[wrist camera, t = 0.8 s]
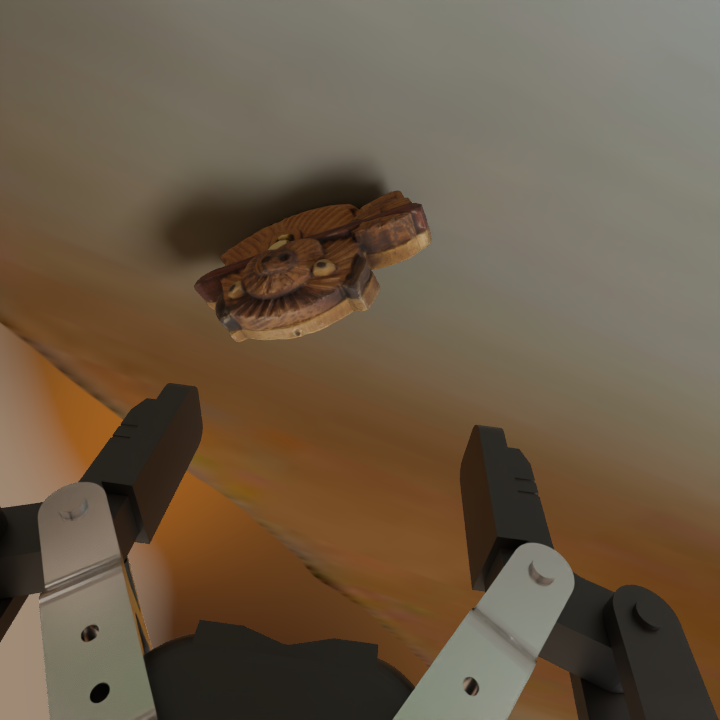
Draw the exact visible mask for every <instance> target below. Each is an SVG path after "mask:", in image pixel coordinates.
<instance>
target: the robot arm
mask: <svg viewBox="0 0 720 720" xmlns="http://www.w3.org/2000/svg"><path fill="white" fill-rule="evenodd" d="M202 430H203V424H202V417H201V409H200V402H199V395H198V390H197V388H196V387H195V386H188V385H181V384H173V383H168V384H167V385H166V386H165V387H164V389H163V390H162V392H161V393H160V395H159V396H158V398H157V399H149V398H147V399H145V400H144V401H143V402H141V403H140V404H138V405H137V406H135V407H134V408H133V409H131V410H130V412H129V413H128V414H127V416H126V417H125V419H124V420H123V421H122V423H121V426H119V427H118V428H117V430H116V431H115V432H114V434H113V437H112V438H110V439H109V441H108V442H107V444H106V445H105V446H104V448H103V449H102V450H101V452H100V453H99V455H98V456H97V457H96V459H95V460H94V461H93V463H92V464H91V466H90V467H89V468H88V470H87V471H86V473H85V474H84V475H83V477H82V478H81V479H80V481H79V482H78V483H73V484H69V485H67V486H64V487H62V488H60V489H58V490H57V491H55V492H54V493H52V494H51V495H50V496H49V497H48V498H47V499H46V500H45V501H44V502H41V503H35V504H28V505H21V506H14V507H6V508H1V507H0V642H1V640H2V638H3V637H4V635H5V633H6V631H7V630H8V628H9V627H10V625H11V624H12V622H13V620H14V619H15V617H16V615H17V614H18V612H19V610H20V608H21V607H22V605H23V603H24V602H25V600H26V599H27V597H28V595H29V594H34V593H40V592H41V593H40V596H39V608H40V619H41V630H42V640H43V651H44V660H45V661H44V662H45V672H46V683H47V694H48V704H49V715H50V720H507V718H508V716H509V714H510V712H511V711H512V709H513V707H514V705H515V703H516V701H517V699H518V697H519V696H520V694H521V692H522V690H523V688H524V686H525V684H526V682H527V681H528V679H529V677H530V675H531V673H532V671H533V669H534V667H535V665H536V659H537V657H538V656H539V657H541V658H543V659H545V660H547V661H549V662H551V663H553V664H555V665H557V666H559V667H561V668H563V669H565V670H567V671H569V673H570V678H571V683H572V688H573V693H574V699H575V704H576V709H577V714H578V719H579V720H718V717H717V715H716V712H715V710H714V707H713V705H712V702H711V700H710V697H709V695H708V692H707V690H706V687H705V685H704V682H703V680H702V677H701V675H700V672H699V670H698V667H697V664H696V662H695V659H694V657H693V654H692V652H691V649H690V647H689V644H688V642H687V639H686V637H685V634H684V632H683V629H682V627H681V624H680V622H679V620H678V618H677V616H676V614H675V613H674V611H673V610H672V609H671V607H670V606H669V605H668V604H667V603H666V602H665V601H664V600H663V599H662V598H660V597H659V596H658V595H656V594H655V593H653V592H652V591H650V590H648V589H646V588H643V587H640V586H637V585H625V586H622V587H620V588H618V590H617V591H616V592H612V591H610V590H608V589H606V588H603V587H601V586H599V585H596V584H594V583H592V582H590V581H587V580H585V579H583V578H581V577H580V576H578V575H576V574H575V573H574V572H572V570H571V568H570V566H569V564H568V563H567V562H566V560H565V559H564V558H563V557H562V556H561V555H560V554H559V553H558V552H556V551H555V550H554V547H553V545H552V541H551V537H550V534H549V530H548V526H547V523H546V519H545V516H544V512H543V508H542V505H541V501H540V497H538V490H537V487H536V483H534V481H535V479H534V476H533V472H532V468H531V465H530V463H529V462H528V460H527V459H526V458H525V456H524V455H523V454H522V452H521V451H520V450H519V449H515V448H508V447H507V443H506V439H505V435H504V431H503V429H502V428H496V427H489V426H481V425H475V426H474V427H473V430H472V433H471V436H470V439H469V442H468V445H467V448H466V450H465V453H464V456H463V459H462V463H461V469H460V485H461V494H462V503H463V512H464V521H465V530H466V539H467V548H468V557H469V566H470V575H471V584H472V590H478V591H485V594H484V596H483V597H482V599H481V600H480V602H479V603H478V604H477V606H476V607H475V608H473V609H472V610H471V611H470V612H469V613H468V615H467V616H466V617H465V619H464V620H463V621H462V623H461V624H460V626H459V627H458V628H457V630H456V631H455V633H454V634H453V635H452V637H451V638H450V640H449V641H448V642H447V644H446V645H445V647H444V648H443V649H442V651H441V652H440V654H439V655H438V657H437V658H436V659H435V661H434V662H433V664H432V665H431V666H430V668H429V669H428V671H427V672H426V673H425V675H424V676H423V678H422V679H421V680H420V682H419V683H418V685H417V686H416V687H414V685H413V684H412V683H411V682H410V681H409V680H408V679H407V678H406V677H405V676H404V675H403V674H402V673H401V672H400V671H398V670H397V669H396V668H395V667H393V666H391V665H390V664H388V663H387V662H385V661H383V660H380V659H378V658H377V653H378V645H377V644H370V643H363V642H356V641H348V640H341V639H327V640H320V641H313V642H307V643H299V644H293V645H285V644H282V643H280V642H278V641H275V640H273V639H271V638H269V637H266V636H264V635H262V634H260V633H258V632H256V631H254V630H251V629H249V628H247V627H245V626H241V625H233V624H226V623H218V622H211V621H205V620H200V621H199V624H198V627H197V630H196V633H195V634H188V635H185V636H181V637H178V638H175V639H173V640H170V641H168V642H165V643H163V644H162V645H160V646H158V647H156V648H154V649H152V645H151V642H150V638H149V635H148V632H147V629H146V625H145V622H144V618H143V614H142V610H141V606H140V602H139V599H138V594H137V590H136V586H135V583H134V579H133V575H132V571H131V567H130V563H129V559H128V556H127V555H128V553H129V551H130V549H131V548H132V546H133V544H134V542H139V543H146V544H150V542H151V540H152V538H153V536H154V534H155V532H156V530H157V528H158V526H159V524H160V522H161V520H162V518H163V516H164V514H165V512H166V510H167V508H168V506H169V503H170V502H171V500H172V498H173V496H174V494H175V492H176V490H177V488H178V486H179V484H180V482H181V480H182V478H183V476H184V474H185V472H186V470H187V468H188V466H189V464H190V462H191V460H192V458H193V456H194V454H195V452H196V450H197V448H198V446H199V444H200V441H201V437H202Z"/></svg>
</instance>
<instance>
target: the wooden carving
mask: <svg viewBox="0 0 720 720" xmlns="http://www.w3.org/2000/svg"><path fill="white" fill-rule="evenodd" d="M431 239H432V238H431V233H430V229H429V226H428V223H427V220H426V216H425V213H424V210H423V207H422V205H421V204H417V203H412V202H411V201H410V200H409V198H404V196H403V195H402V193H401V192H400V191H394V192H390V193H388V194H385V195H382V196H381V197H379V198H378V199H376V200H374V201H372V202H370V203H368V204H366V205H364V206H363V207H361V209H360V210H359V209H358V208H356V207H355V206H353V205H350V204H345V205H344V204H339V205H330V206H325V207H321V208H316V209H312V210H308V211H305V212H302V213H300V214H298V215H293V216H291V217H290V218H285V219H284V220H282V221H280V222H278V223H274V224H273V225H271V226H267V227H265V228H263V229H261V230H260V231H258V232H256V233H254V234H253V235H252V236H249V237H248V238H246V239H244V240H243V241H241V242H240V243H238V244H237V245H235V246H234V247H232V248H230V249H229V250H228V251H226V252H225V253H224V254H223V255H222V257H221V260H222V261H223V262H224V264H225V267H222V268H218V269H215V270H213V271H211V272H209V273H207V274H206V275H204V276H202V277H201V278H200V279H199V280H198V281H197V282H196V284H195V286H194V287H195V290H196V291H197V292H198V293H199V294H200V295H201V296H202V297H203V299H204V300H205V301H206V304H207V305H208V306H209V307H211V308H212V309H214V310H216V315H217V317H218V319H219V321H220V322H221V323H222V324H223V325H224V326H225V327H226V328H227V329H228V330H229V332H230V335H231V337H232V338H233V339H234V340H235V341H236V342H240V341H243V340H245V339H247V338H253V339H259V340H274V339H291V338H296V337H301V336H303V335H305V334H308V333H313V332H316V331H319V330H321V329H323V328H325V327H327V326H329V325H331V324H333V323H335V322H337V321H339V320H340V319H342V318H344V317H345V316H347V315H349V314H350V313H352V312H353V311H365V310H367V309H369V308H370V307H371V305H372V303H373V301H374V299H375V298H376V296H377V294H378V292H379V289H380V286H379V283H378V282H377V280H376V277H375V276H374V274H373V272H372V271H371V270H372V269H379V268H383V267H386V266H389V265H393V264H396V263H398V262H401V261H404V260H406V259H409V258H410V257H412V256H414V255H415V254H417V253H418V252H419V251H420V250H422V249H424V248H425V247H427V246H428V245H429V244H430V243H431Z"/></svg>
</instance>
